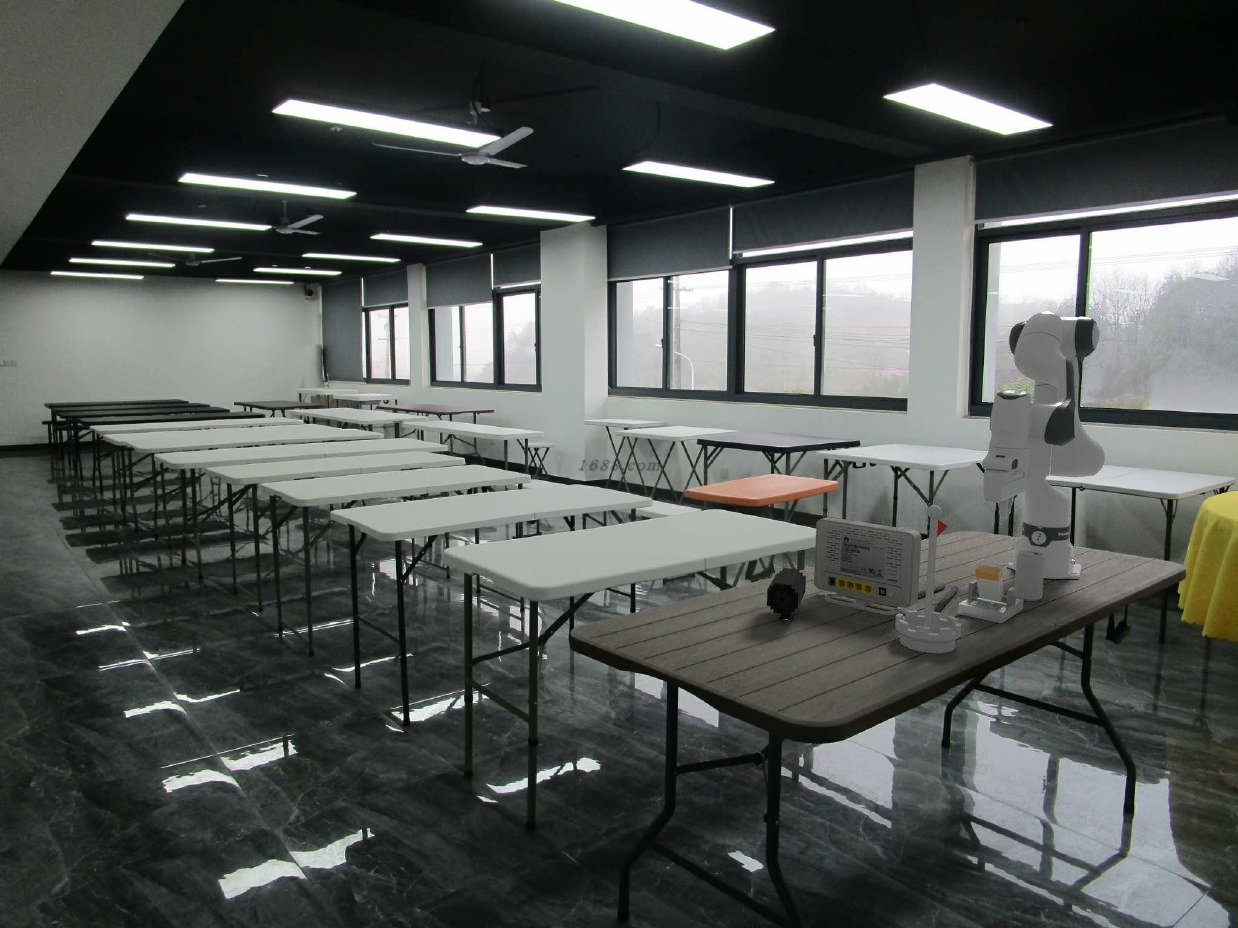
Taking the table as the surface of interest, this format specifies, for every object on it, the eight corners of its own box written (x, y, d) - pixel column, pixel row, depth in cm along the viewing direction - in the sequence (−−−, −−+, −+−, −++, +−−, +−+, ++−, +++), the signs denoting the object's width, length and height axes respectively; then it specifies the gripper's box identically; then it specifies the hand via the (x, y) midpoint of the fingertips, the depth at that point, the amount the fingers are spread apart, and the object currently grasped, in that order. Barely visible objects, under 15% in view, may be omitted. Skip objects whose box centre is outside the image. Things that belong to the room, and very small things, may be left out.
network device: (921, 611, 196) (925, 529, 193) (905, 619, 190) (910, 535, 187) (825, 590, 213) (828, 515, 211) (807, 597, 207) (811, 519, 204)
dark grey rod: (952, 590, 214) (952, 585, 214) (958, 591, 213) (958, 586, 213) (933, 612, 195) (933, 606, 195) (939, 613, 194) (939, 607, 194)
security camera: (806, 606, 199) (807, 566, 198) (796, 630, 182) (798, 586, 180) (777, 603, 201) (778, 564, 200) (765, 626, 184) (766, 583, 183)
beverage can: (1045, 602, 204) (1048, 556, 202) (1017, 601, 205) (1020, 554, 203) (1037, 595, 210) (1041, 550, 208) (1010, 594, 211) (1014, 548, 210)
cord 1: (940, 587, 216) (940, 582, 216) (945, 588, 215) (945, 583, 215) (904, 601, 204) (904, 595, 204) (909, 602, 203) (909, 597, 203)
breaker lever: (978, 593, 199) (974, 563, 195) (1009, 599, 194) (1005, 569, 190) (974, 599, 198) (970, 569, 194) (1006, 605, 193) (1002, 575, 189)
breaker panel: (980, 600, 205) (982, 575, 204) (1022, 609, 198) (1024, 583, 198) (957, 613, 194) (959, 587, 193) (1001, 623, 187) (1003, 595, 187)
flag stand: (936, 659, 165) (945, 513, 161) (882, 641, 175) (889, 503, 171) (972, 646, 172) (981, 506, 168) (918, 629, 183) (925, 497, 179)
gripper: (1008, 452, 205) (1005, 506, 207) (979, 462, 190) (976, 520, 192) (1036, 455, 200) (1032, 510, 203) (1008, 464, 186) (1004, 524, 188)
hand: (1004, 515), depth 197 cm, fingers closed
